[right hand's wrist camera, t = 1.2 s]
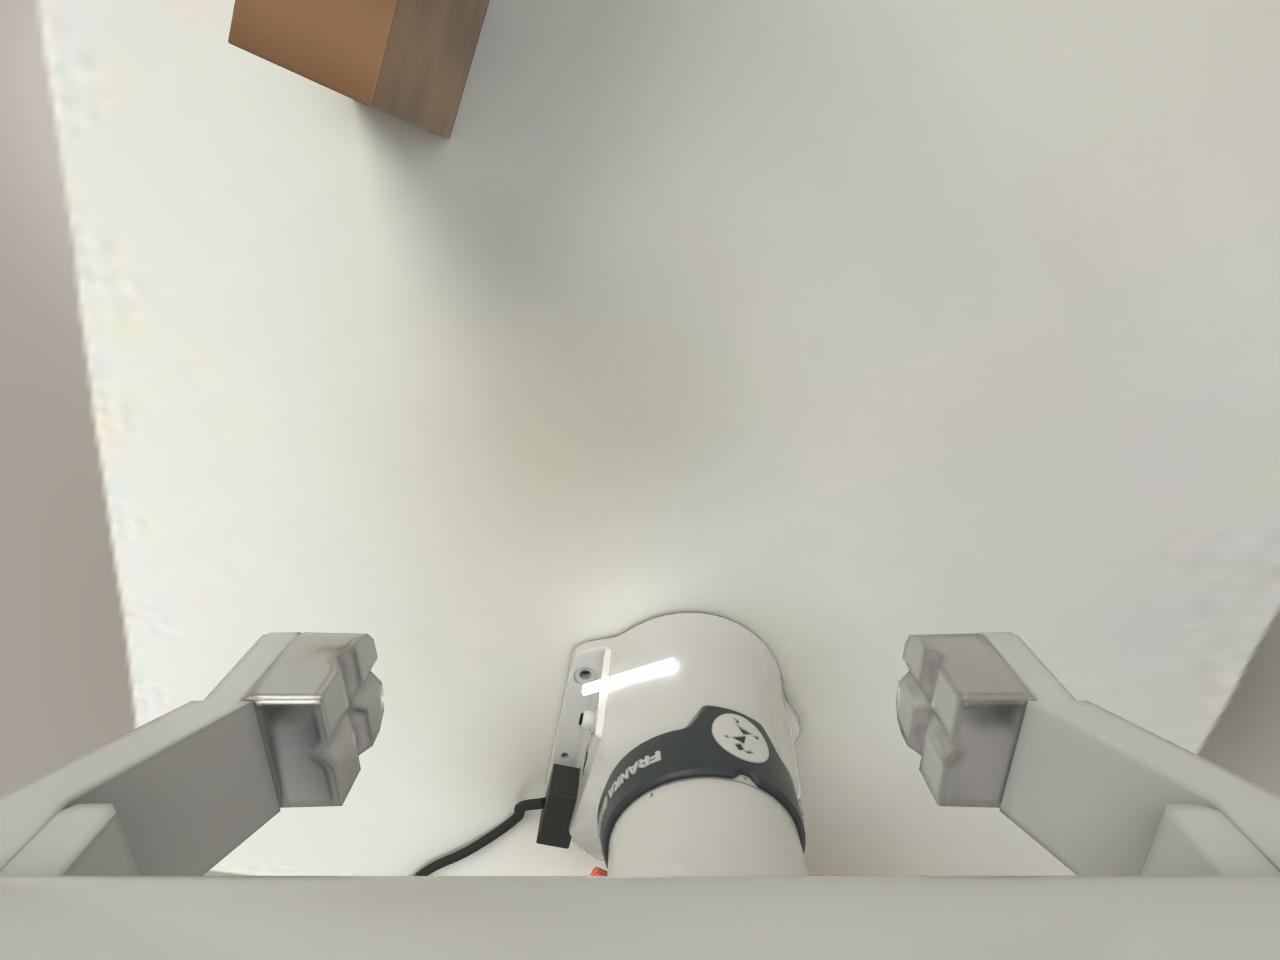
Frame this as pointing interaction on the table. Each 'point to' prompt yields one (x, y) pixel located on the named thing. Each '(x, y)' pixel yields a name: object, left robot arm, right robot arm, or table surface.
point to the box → (371, 50)
